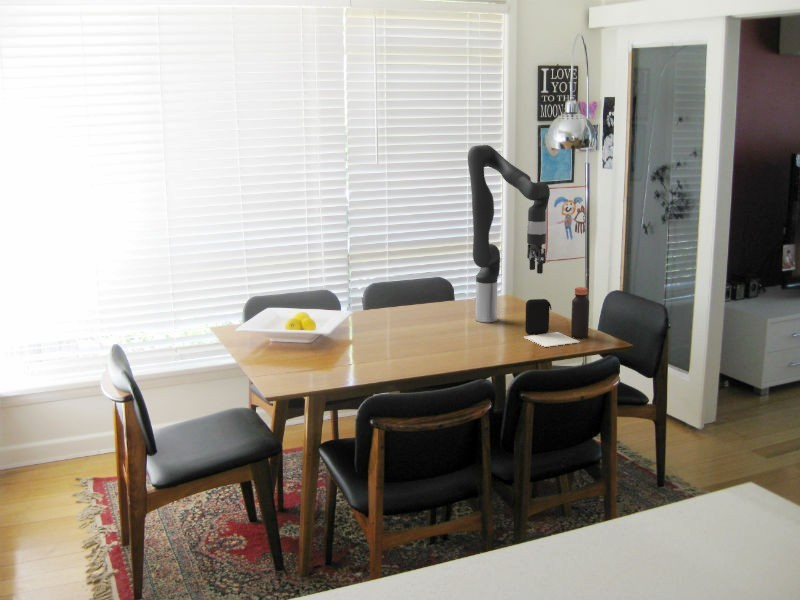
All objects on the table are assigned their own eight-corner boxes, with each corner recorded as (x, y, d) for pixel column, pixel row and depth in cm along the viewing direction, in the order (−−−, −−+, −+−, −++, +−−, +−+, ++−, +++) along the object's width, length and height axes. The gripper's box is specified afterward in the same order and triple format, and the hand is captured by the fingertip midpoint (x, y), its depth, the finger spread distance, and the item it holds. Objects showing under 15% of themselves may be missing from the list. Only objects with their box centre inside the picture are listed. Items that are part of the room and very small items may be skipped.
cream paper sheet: (523, 337, 340) (523, 336, 340) (557, 333, 346) (557, 331, 346) (545, 347, 326) (545, 346, 326) (580, 343, 332) (580, 341, 331)
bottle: (588, 339, 337) (590, 290, 332) (570, 338, 338) (572, 289, 333) (587, 334, 343) (589, 286, 338) (570, 334, 344) (572, 286, 340)
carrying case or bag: (549, 332, 347) (550, 297, 344) (551, 334, 344) (552, 299, 341) (524, 333, 346) (525, 298, 343) (526, 335, 343) (526, 300, 340)
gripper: (521, 230, 347) (521, 269, 350) (534, 234, 333) (533, 275, 337) (539, 229, 348) (538, 268, 352) (552, 234, 335) (551, 274, 338)
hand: (535, 271), depth 344 cm, fingers open, 8 cm apart
